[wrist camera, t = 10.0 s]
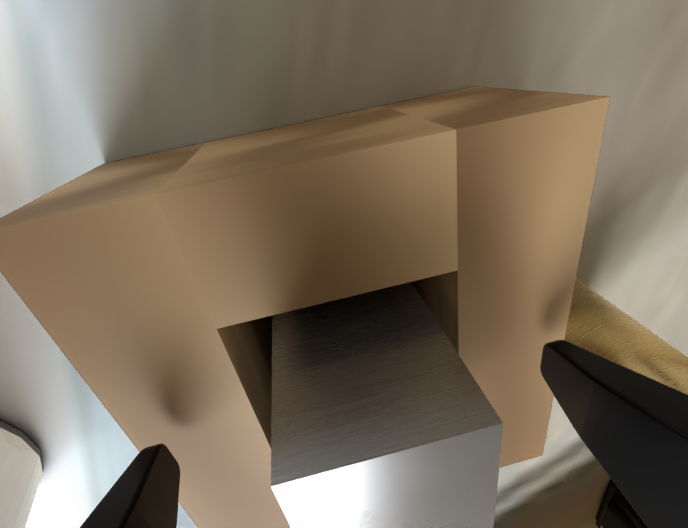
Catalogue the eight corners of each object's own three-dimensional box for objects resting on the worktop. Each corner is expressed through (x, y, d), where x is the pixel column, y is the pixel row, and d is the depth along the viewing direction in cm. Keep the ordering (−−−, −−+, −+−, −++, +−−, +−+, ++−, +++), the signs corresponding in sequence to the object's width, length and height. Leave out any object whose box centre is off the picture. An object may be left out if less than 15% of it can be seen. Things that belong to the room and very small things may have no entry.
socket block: (473, 86, 11) (610, 96, 6) (470, 352, 16) (542, 455, 12) (103, 163, 10) (-29, 233, 6) (231, 414, 15) (213, 548, 11)
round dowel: (589, 264, 15) (860, 438, 8) (578, 327, 17) (792, 514, 10) (509, 286, 15) (713, 481, 8) (507, 347, 16) (671, 550, 10)
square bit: (374, 225, 12) (503, 423, 5) (385, 307, 14) (492, 534, 7) (272, 248, 12) (270, 486, 5) (297, 328, 14) (319, 585, 7)
